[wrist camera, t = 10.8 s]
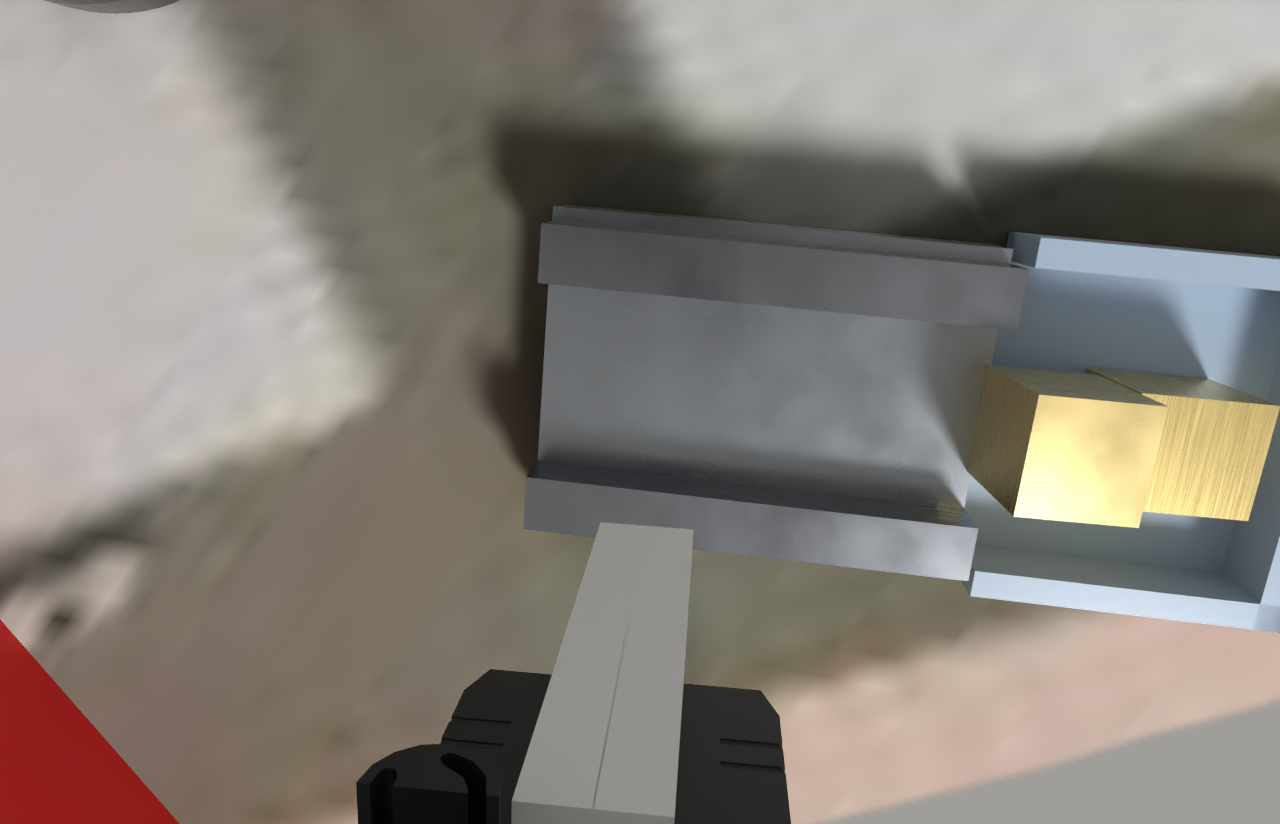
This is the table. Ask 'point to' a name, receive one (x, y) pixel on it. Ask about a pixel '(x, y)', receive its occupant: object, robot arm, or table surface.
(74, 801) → the book
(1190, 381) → the brass block
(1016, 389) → the brass block
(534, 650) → the table surface
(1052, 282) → the tray
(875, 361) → the slotted deck
